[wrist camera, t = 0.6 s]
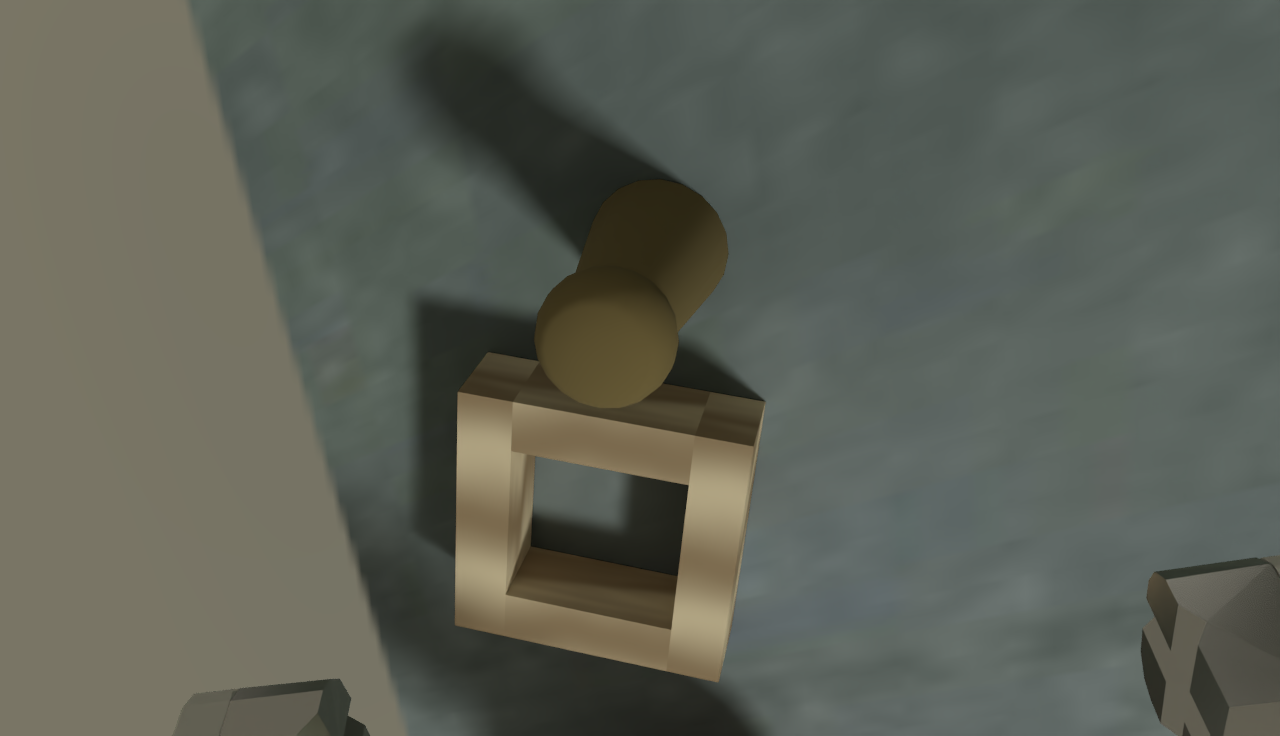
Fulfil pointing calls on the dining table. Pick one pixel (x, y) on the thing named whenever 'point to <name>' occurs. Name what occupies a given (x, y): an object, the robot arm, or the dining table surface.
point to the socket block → (587, 588)
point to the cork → (631, 294)
